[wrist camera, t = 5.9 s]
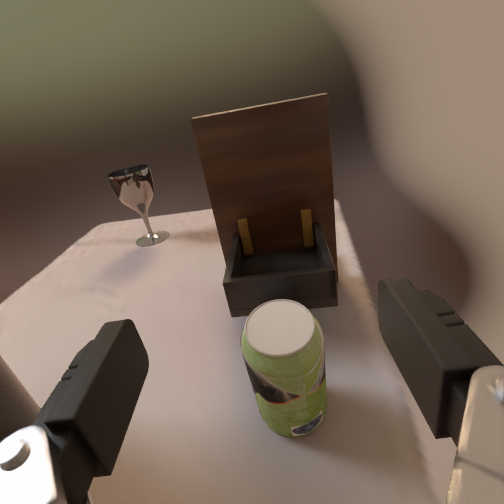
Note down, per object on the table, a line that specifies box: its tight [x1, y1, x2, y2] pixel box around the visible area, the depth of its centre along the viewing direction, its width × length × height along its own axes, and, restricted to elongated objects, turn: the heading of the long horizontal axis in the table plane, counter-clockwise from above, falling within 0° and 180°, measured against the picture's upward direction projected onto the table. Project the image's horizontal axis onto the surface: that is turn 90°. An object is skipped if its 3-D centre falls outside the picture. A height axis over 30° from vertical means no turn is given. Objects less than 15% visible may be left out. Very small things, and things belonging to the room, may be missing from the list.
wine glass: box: [108, 165, 169, 246], centre depth 67 cm, size 8×8×15 cm
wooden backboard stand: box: [190, 93, 338, 317], centre depth 39 cm, size 19×15×24 cm
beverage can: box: [240, 299, 327, 437], centre depth 26 cm, size 6×7×12 cm
